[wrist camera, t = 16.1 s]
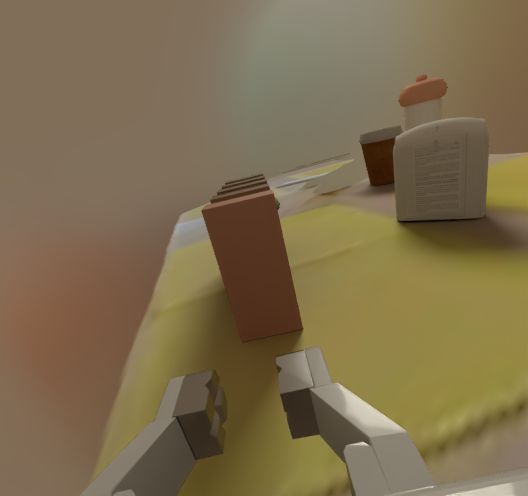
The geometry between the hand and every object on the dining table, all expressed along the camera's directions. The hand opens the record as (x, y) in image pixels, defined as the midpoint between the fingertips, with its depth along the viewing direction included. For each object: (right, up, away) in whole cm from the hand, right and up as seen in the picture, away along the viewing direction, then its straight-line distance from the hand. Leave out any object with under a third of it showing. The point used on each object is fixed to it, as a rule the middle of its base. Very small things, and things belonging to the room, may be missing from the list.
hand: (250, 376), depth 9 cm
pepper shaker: (+30, +15, +42) cm, 54 cm away
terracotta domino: (+1, -2, +14) cm, 14 cm away
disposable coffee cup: (+30, +20, +58) cm, 69 cm away
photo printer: (+24, +8, +28) cm, 38 cm away
